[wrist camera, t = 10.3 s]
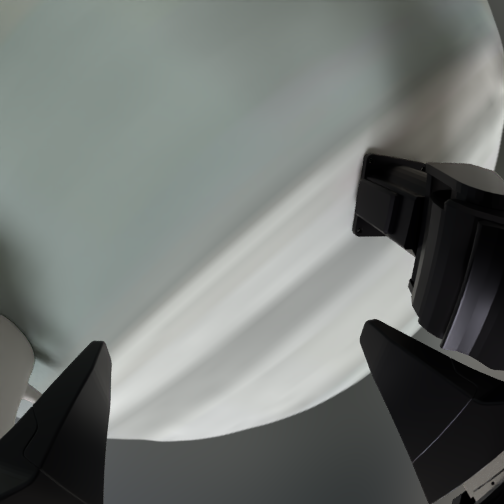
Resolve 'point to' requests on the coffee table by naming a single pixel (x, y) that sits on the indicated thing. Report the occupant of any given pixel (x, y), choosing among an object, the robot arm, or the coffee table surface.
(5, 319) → the mug
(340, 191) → the coffee table surface
